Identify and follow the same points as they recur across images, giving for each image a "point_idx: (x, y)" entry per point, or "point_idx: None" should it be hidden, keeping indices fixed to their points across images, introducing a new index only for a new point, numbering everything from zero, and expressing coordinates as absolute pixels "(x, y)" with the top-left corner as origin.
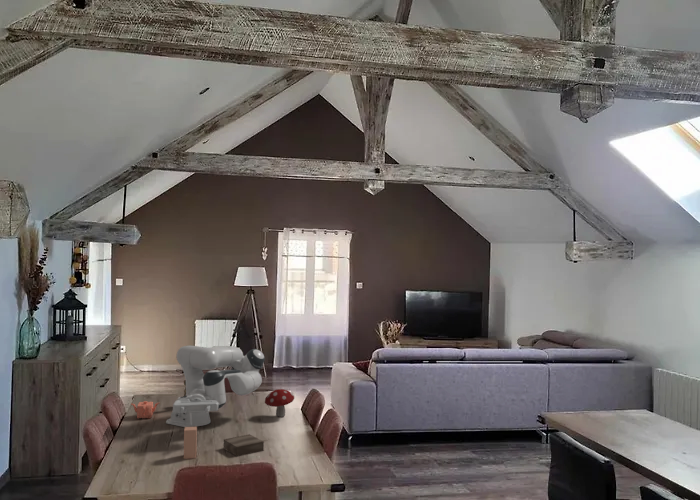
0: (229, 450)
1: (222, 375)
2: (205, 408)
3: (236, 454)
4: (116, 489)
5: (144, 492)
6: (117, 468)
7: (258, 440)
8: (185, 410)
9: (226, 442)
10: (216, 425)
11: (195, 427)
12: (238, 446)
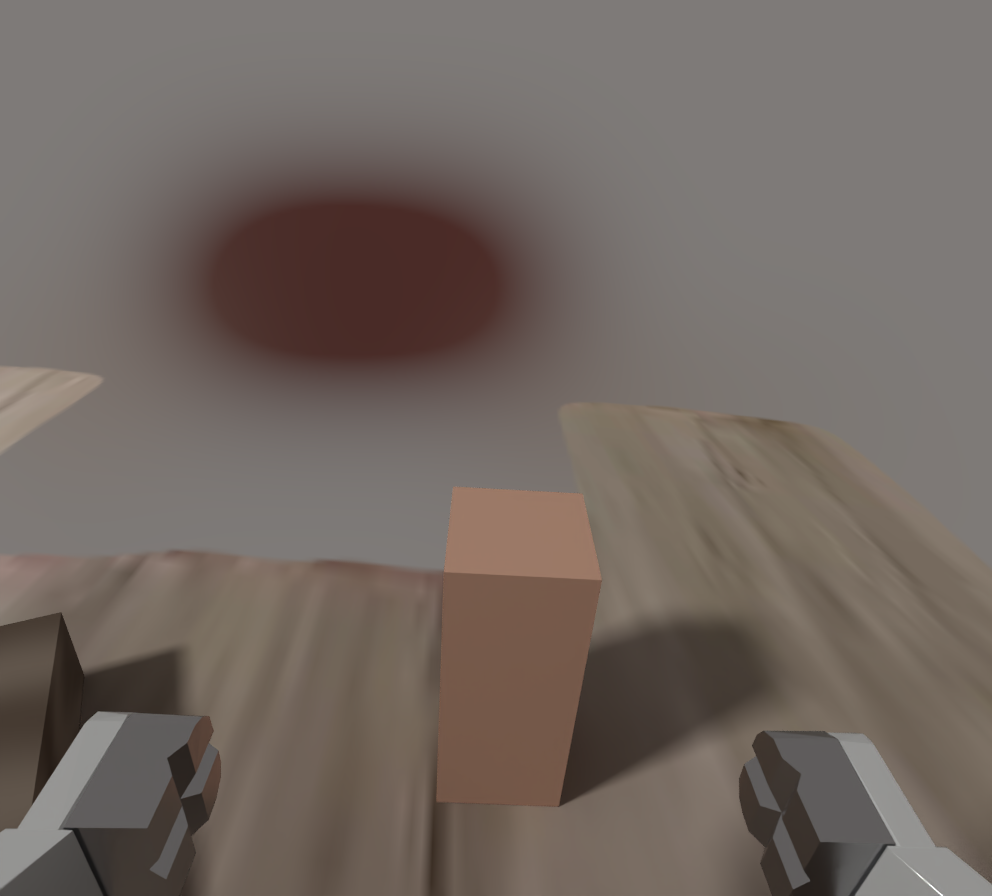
0: None
1: None
2: (172, 716)
3: (79, 670)
4: (762, 438)
5: (638, 410)
6: (960, 617)
7: None
8: (770, 739)
9: None
10: None
11: (462, 546)
12: (37, 622)
